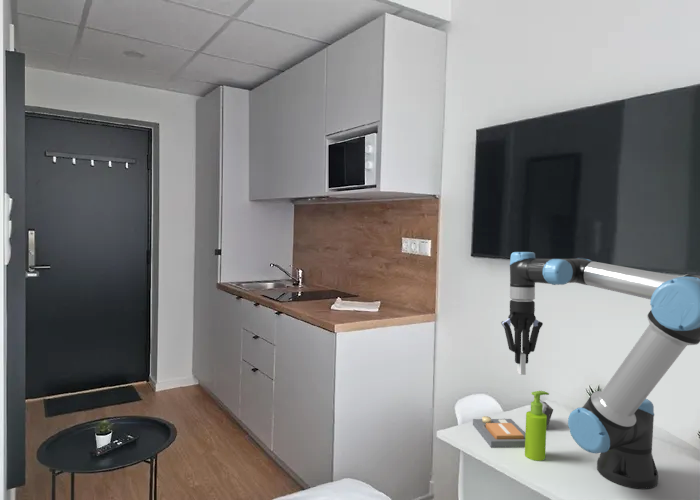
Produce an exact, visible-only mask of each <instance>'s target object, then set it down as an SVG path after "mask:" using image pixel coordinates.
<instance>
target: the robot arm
mask: <svg viewBox="0 0 700 500" xmlns="http://www.w3.org/2000/svg"><path fill="white" fill-rule="evenodd" d="M509 272H510V273H509V275H510V276H509V282H510V283H509V298H510V299H511V300H510V301H509V315H508V318H507V319H506V320H502V321H501V322H500V324H501V325H502V327H503V328H504V333H505V337H506V341H507V347H508V350H509V351H511V352H512V353H514V363H516V364H517V372H516V373H517V374H519V375H521V376H522V375H524V376H525V375H526V374H527V373H526V369H527V368H526V365H527V364H528V363H529V355H530V354H531V353H532V352H534V351H535V350H536V345H537V341H538V337H539V333H540V330H541V329H542V326H543V322H541V321H539V320H537V317H536V316H535V311H536V309H535V308H536V307H535V306H536V303H535V301H534V300H535V299H536V284H537V283H538V284H548V285H552V286H559V285H561V286H563V285H566V284H571V283H575V284H579V285H580V284H581V285H585V286H591V287H595V288H598V289H604V290H607V291H612V292H617V293H620V294H625V295H629V296H633V297H638V298H643V299H647V300H650V301H649V302H650V306H651V308H650V311H649V312H648V314H647V315H646V317H647V320H648V323H649V324H648V326H647V328H646V329H645V330H644V332H643V333H642V335H641V336H640V337H639V338H638V340H637V342H636V343H635V344H634V346H633V347H632V349H630V351H629V353H628V354H627V356H626V357H625V358H624V359H623V361H622V363H621V364H620V365H619V367H618V368H617V370H616V371H615V373H613V375H612V376H611V378H610V380H609V381H608V383H607V384H606V385H605V386H604V388H603V389H602V390H598V391H597V390H596V391H593V393H591V395H590V397H589V398H588V399H587V401H586V402H585V404H584V405H583V406H582V407H577V408H575V409H574V410H572V411H571V412H570V413H569V414H568V415H569V416H568V419H567V424H568V428H569V432H570V436H571V437H572V439H573V440H574V442H575V443H576V445H578V446H579V447H580V448H581V449H583V450H584V451H586V452H588V453H590V454H599V457H598V458H597V461H596V470H597V472H598V473H599V474H600V475H601V476H602V477H604V478H605V479H606V480H608V481H610V482H613V483H615V484H618V485H621V486H624V487H628V488H633V489H641V490H643V489H646V490H647V489H652V488H654V487H657V485H658V484H659V473H658V469H657V467H656V464H655V460H654V456H653V452H652V451H653V439H654V438H653V437H654V421H655V420H654V418H655V412H654V411H655V410H654V404H653V402H652V401H651V400H649V399H647V397H648V396H649V395H650V394H651V392H652V391H653V390H654V388H655V387H656V386H657V385H658V383H659V382H660V381H661V380H662V378H663V377H664V376H665V374H666V373H667V372H668V370H669V369H670V368H671V367H672V366H673V364H674V363H675V362H676V361H677V359H678V358H679V356H680V355H681V354H682V353H683V351H684V350H685V349H686V347H687V346H696V345H699V344H700V275H696V274H689V273H687V274H684V275H682V276H679V275H673V274H667V273H662V272H655V271H650V270H644V269H639V268H633V267H627V266H623V265H616V264H609V263H605V262H599V261H598V262H597V261H593V260H591V259H588V258H584V257H577V258H536V253H535V252H533V251H532V252H531V251H514V252H512V253H511V254H510V260H509ZM532 325H533V326H532ZM511 326H513V332H514V336H513V332H512V328H511ZM531 327H532V329H531Z"/></svg>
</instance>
